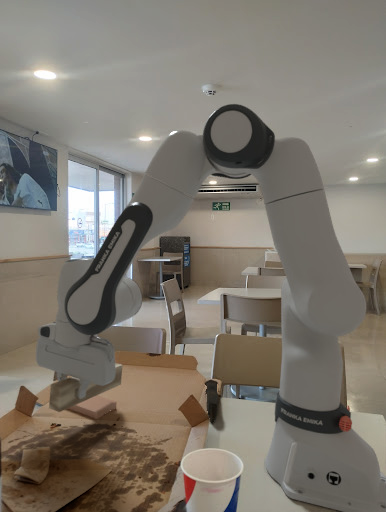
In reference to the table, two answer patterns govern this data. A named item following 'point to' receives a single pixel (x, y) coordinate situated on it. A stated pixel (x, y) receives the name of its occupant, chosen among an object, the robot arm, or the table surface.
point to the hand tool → (212, 399)
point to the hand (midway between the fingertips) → (72, 394)
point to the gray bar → (65, 389)
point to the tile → (94, 406)
